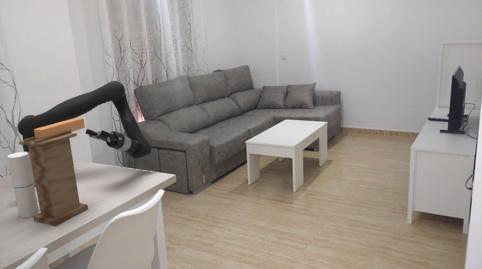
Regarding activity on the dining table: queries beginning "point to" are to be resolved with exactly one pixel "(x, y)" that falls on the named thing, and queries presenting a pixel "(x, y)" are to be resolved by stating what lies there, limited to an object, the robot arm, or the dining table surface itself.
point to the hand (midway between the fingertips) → (93, 131)
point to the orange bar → (59, 128)
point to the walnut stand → (54, 178)
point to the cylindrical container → (23, 184)
